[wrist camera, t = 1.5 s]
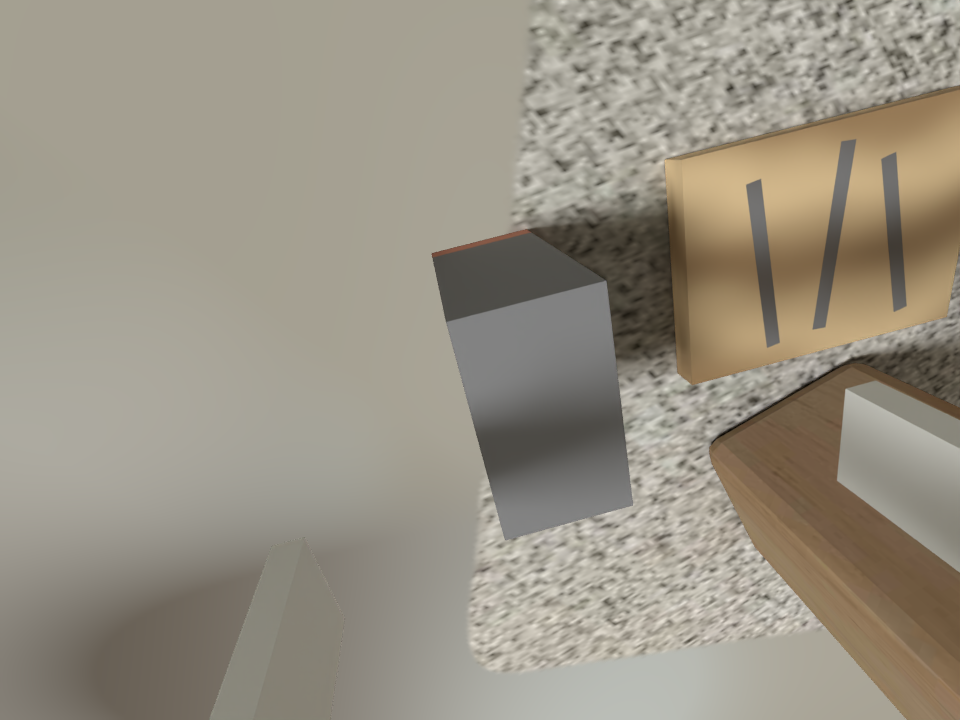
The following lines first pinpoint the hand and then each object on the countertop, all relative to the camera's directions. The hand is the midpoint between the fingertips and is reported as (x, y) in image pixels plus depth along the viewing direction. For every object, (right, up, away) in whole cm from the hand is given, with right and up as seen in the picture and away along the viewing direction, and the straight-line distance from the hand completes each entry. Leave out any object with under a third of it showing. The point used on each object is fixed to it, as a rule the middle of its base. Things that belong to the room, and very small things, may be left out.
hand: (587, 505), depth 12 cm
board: (+14, +9, +13) cm, 21 cm away
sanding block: (-2, +5, +12) cm, 14 cm away
